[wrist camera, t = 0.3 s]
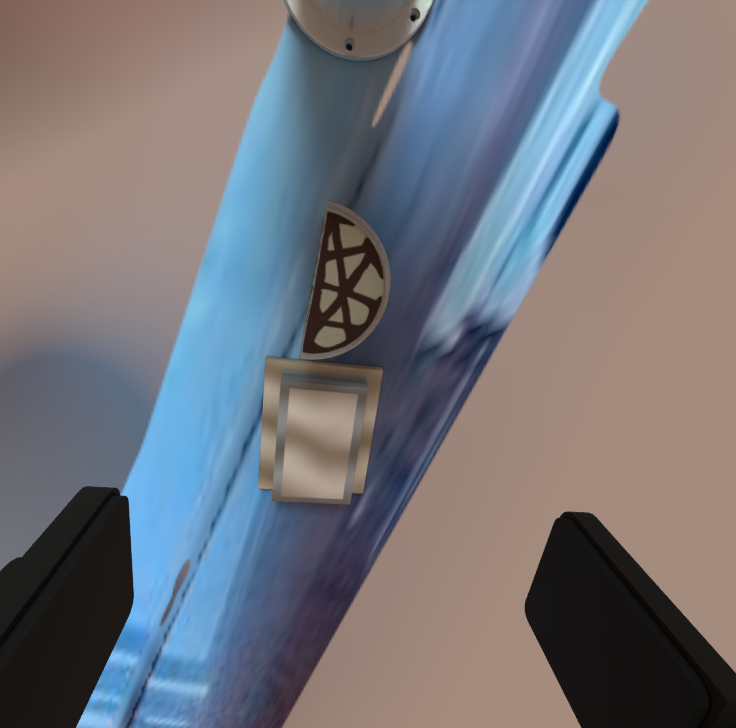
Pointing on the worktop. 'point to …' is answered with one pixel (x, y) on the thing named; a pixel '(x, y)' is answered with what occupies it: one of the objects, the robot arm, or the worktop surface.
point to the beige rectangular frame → (317, 429)
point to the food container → (345, 285)
